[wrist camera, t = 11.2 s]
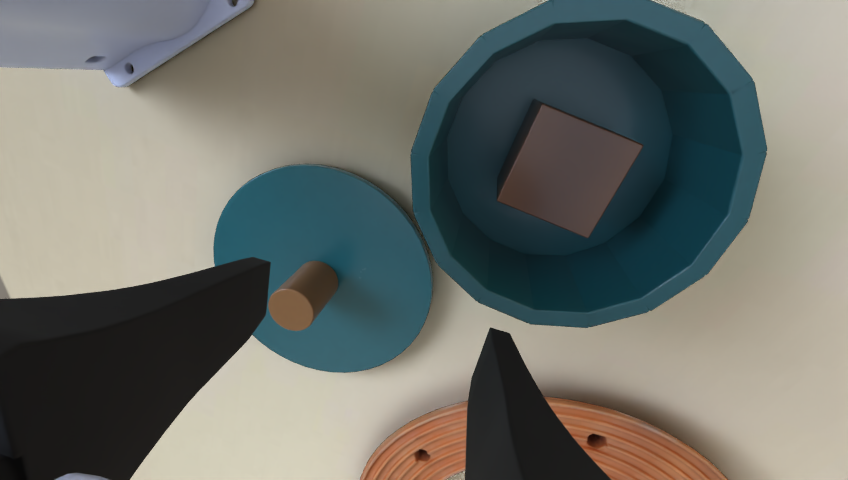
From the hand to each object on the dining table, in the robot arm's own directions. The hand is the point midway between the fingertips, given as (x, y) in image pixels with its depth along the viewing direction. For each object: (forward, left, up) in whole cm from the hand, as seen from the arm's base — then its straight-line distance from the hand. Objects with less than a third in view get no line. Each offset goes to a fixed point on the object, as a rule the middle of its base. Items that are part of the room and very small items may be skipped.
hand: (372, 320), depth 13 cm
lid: (-7, -1, -9) cm, 12 cm away
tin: (+7, +1, -10) cm, 12 cm away
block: (+7, +1, -10) cm, 12 cm away
